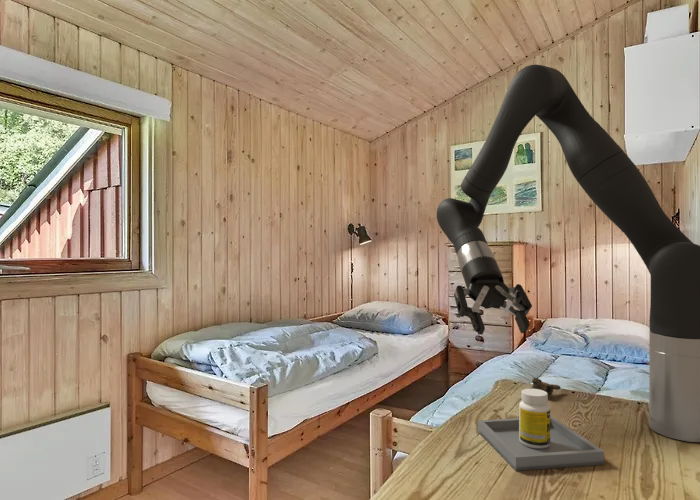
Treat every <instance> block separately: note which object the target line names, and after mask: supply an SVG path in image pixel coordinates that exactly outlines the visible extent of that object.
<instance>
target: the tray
mask: <svg viewBox="0 0 700 500" xmlns="http://www.w3.org/2000/svg"><path fill="white" fill-rule="evenodd" d="M477 432H478V434H479V435H480V436H481V437H482V438H483V439H484V440H485V442H487V444H489V445H490V446H491V448H493V449H494V450H495V452H497V453H498V454H499V455H500V457H501V458H502V459H504V460H505V462H507V464H508V465H510V467H511V468H512V469H513V470H514V471H515V472H520V471H521V472H522V471H533V470H548V469H550V470H551V469H563V468H576V467H590V466H602V465H603V466H604V465H605V451H604V450H603V449H602V448H600V447H599V446H597V445H596V444H594V443H593V442H591V441H589V440H588V439H587V438H585V437H584V436H582V435H581V434H579V433H578V432H576V431H574V430H573V429H572V428H570V427H568V426H567V425H566V424H564V423H563V422H561V421H560V420H558V419H557V418H555V417H554V416H553V415H550V446H549V447H547V448H543V449H536V448H530V447H527V446H525V445H523V444H522V443H521V442H520V440H519V417H517V418H516V417H514V418H513V417H512V418H499V419H498V418H497V419H479V420H477Z"/></svg>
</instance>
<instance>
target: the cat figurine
mask: <svg viewBox="0 0 700 500" xmlns="http://www.w3.org/2000/svg"><path fill="white" fill-rule="evenodd" d="M531 382H532V389H539V390H543V391H545V392H547V394H548V398H552V397H553V395H554V394H553V392H554V390H558V391H559V390H561V388H562V387H561V386H560V385H558V384H554V383H553V384H552V383H551V384H550V383H548V382H545V381H542V379H540V378H537V377H533V378H532V379H531Z"/></svg>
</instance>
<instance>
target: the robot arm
mask: <svg viewBox="0 0 700 500" xmlns="http://www.w3.org/2000/svg"><path fill="white" fill-rule="evenodd" d="M535 117H537V118H538V119H539V120H540V121H542V123H543V124H544V125H545V126H546V127H547V129H549V130H550V132H551V133H552V134H553V135H554V136H555V138H556V140H557V141H558V143H559V145H560V147H561V150H562V152H563V156H564V158H565V160H566V164H567V165H568V166H567V167H568V168H569V170H570V172H571V174H572V176H573V177H574V179H575V180H576V181H577V182H578V184H579V186H580V187H581V188H582V189H583V191H584V192H585V193H586V195H587V196H588V197H589V198H590V200H591V201H592V202H593V203H594V204H595V206H597V208H598V209H599V210H600V211H601V212H603V213H602V214H604V215H605V216H606V218H608V219H609V220H610V221H611V222H612V223H613V224H614V225H615V226H617V228H618V229H619V230H620V231H621V232H622V233H623V234H624V235H625V236H626V237H627V239H628V240H629V242H630V243H631V244H632V246H633V248H634V249H635V251H636V252H637V253H638V255H639V257H640V258H641V261H642V262H643V264H644V265H645V267H646V268H647V270H648V272H649V275H650V305H649V306H650V308H649V320H648V321H649V338H648V339H649V346H648V347H649V359H648V360H649V365H648V367H649V369H648V371H649V375H648V377H649V387H648V388H649V389H648V391H649V392H648V393H649V394H648V395H649V397H648V399H649V400H648V402H649V404H648V405H649V406H648V418H649V419H648V421H649V422H648V423H649V425H648V426H649V428H650V429H651V430H652V431H654V432H656V433H657V434H660V435H662V436H663V437H667V438H671V439H675V440H678V441H683V442H689V443H690V442H691V443H700V244H696V243H694V242H693V241H692V240H691V239H690V238H688V236H686V235H685V233H683V232H682V231H681V229H680V228H679V227H678V226H676V224H675V223H674V222H673V221H672V220H671V218H669V217H668V215H667V214H666V212H664V210H663V209H662V207H661V205H660V203H659V200H658V199H657V197H656V195H655V194H654V192H653V190H652V189H651V187H650V185H649V183H648V181H647V180H646V179H645V177H644V176H643V173H642V172H641V171H640V170H639V169H638V166H637V165H636V164H635V163H634V162H633V161H632V160H631V158H630V157H629V155H628V154H626V152H625V151H624V150H623V149H622V147H621V146H620V145H619V144H618V143H617V142H616V141H615V140H614V138H613V137H611V135H610V134H609V133H608V132H607V131H606V130H605V129H604V128H603V127H602V126H601V125H600V124H599V122H597V121H596V120H595V119H594V117H592V115H591V114H590V113H589V111H588V110H587V109H586V108H585V106H584V105H583V103H582V101H581V100H580V97H578V95H577V94H576V92H575V90H574V89H573V87H572V85H571V84H570V82H569V81H568V79H567V78H566V76H565V75H564V74H563V73H562V72H561V71H560V70H558V69H556V68H553V67H552V66H551V67H550V66H546V65H543V64H530V65H527V66H524V67H522V68H521V69H520V70H518V72H517V73H516V74H515V75H514V77H512V80H511V81H510V84H509V86H508V88H507V90H506V93H505V95H504V97H503V100H502V103H501V105H500V108H499V110H498V112H497V115H496V117H495V120H494V122H493V124H492V127H490V128H491V129H490V131H489V133H488V135H487V137H486V140H485V141H484V143H483V145H482V147H481V149H480V151H479V153H478V154H477V156H476V158H475V159H474V161H473V163H472V164H471V166H470V168H469V169H468V171H467V173H466V174H465V176H464V177H463V180H462V181H461V183H460V184H461V185H460V189H461V191H462V192H463V194H465V195H466V196H467V197H469V198H470V199H469V201H464V200H460V199H457V198H452V197H451V198H450V197H448V198H445V199H443V200H442V201H440V203H439V204H438V206H437V208H436V220H437V223H438V226H439V227H440V229H441V230H442V232H443V233H444V235H445V236H446V237H447V239H448V240H449V241H450V242H451V244H452V245H453V248H454V251H455V253H456V257H457V262H458V265H459V266H458V267H459V270H460V272H461V274H462V278H463V280H464V283H465V284H464V285H465V286H466V288H464V287H463V286H462V285H457V286H456V288H455V291H454V294H453V297H454V301H455V304H456V309H457V313H458V315H459V317H462V318H464V317H467V318H469V319H470V322H471V325H472V329H473V330H474V332H477V335H480V336H481V335H483V334H484V332H485V330H486V328H485V327H486V326H485V325H484V320H483V318H482V316H481V313H480V312H479V311H480V308H484V309H501V310H503V311H504V312H506V313H510V314H511V315H513V316H514V321H515V322H516V325H517V327H518V329H519V332H520V333H521V334H526V333H527V331H528V329H529V327H530V322H529V320H528V317H527V315H528V314H529V313H530V310H531V309H532V307H533V305H532V302H531V300H530V299H529V296H528V295H527V293H526V291H525V289H524V287H523V285H521V284H520V283H518V284H515V286H513V287H509V286H508V285H506V283H505V281H504V276H503V274H502V272H501V269H500V267H499V264H498V262H497V259H496V258H495V255H494V253H493V250H492V249H491V247H490V246H489V244H488V241H487V239H486V237H485V234H484V232H483V231H482V230H481V228H480V225H481V224H482V221H483V219H484V215H485V211H486V208H487V205H488V203H489V200H490V197H491V195H492V194H493V191H494V190H495V189H496V187H497V185H498V184H499V183H500V181H501V180H502V179H503V176H504V174H505V173H506V170H507V169H508V166H509V164H510V161H511V157H512V154H513V151H514V149H515V146H516V144H517V141H518V139H519V138H520V136H521V134H522V133H523V131H524V130H525V128H526V127H527V125H528V124H529V123H530V122H532V120H533V118H535ZM467 296H468V298H470V299H471V300H473V301H474V304H473V305H472V307H470V306H468V302H467V299H466V298H467ZM506 301H507V304H506V303H505V302H506Z"/></svg>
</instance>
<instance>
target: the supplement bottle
mask: <svg viewBox="0 0 700 500" xmlns="http://www.w3.org/2000/svg"><path fill="white" fill-rule="evenodd" d="M520 398H521V401H520V402H519V404H518V405H519V406H518V407H519V408H518V413H519V414H518V415H519V416H518V418H519V440H520V442H521V443H522V444H523V445H525V446H527V447H530V448H536V449H543V448H547V447H549V446H550V416H551V407H550V405H549V404H548V401H549V399H548V398H549V397H548V394H547V392H545V391H543V390H539V389H533V388H524V389H521V397H520Z"/></svg>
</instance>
